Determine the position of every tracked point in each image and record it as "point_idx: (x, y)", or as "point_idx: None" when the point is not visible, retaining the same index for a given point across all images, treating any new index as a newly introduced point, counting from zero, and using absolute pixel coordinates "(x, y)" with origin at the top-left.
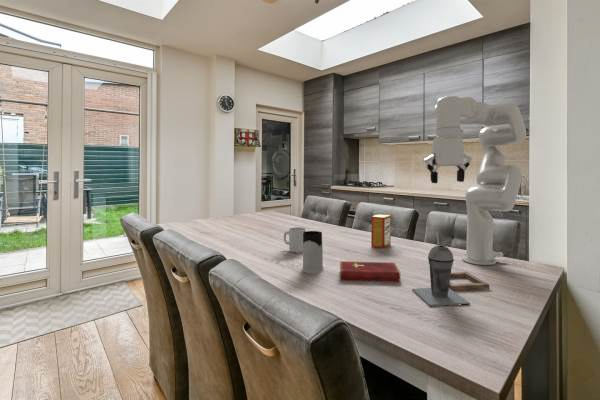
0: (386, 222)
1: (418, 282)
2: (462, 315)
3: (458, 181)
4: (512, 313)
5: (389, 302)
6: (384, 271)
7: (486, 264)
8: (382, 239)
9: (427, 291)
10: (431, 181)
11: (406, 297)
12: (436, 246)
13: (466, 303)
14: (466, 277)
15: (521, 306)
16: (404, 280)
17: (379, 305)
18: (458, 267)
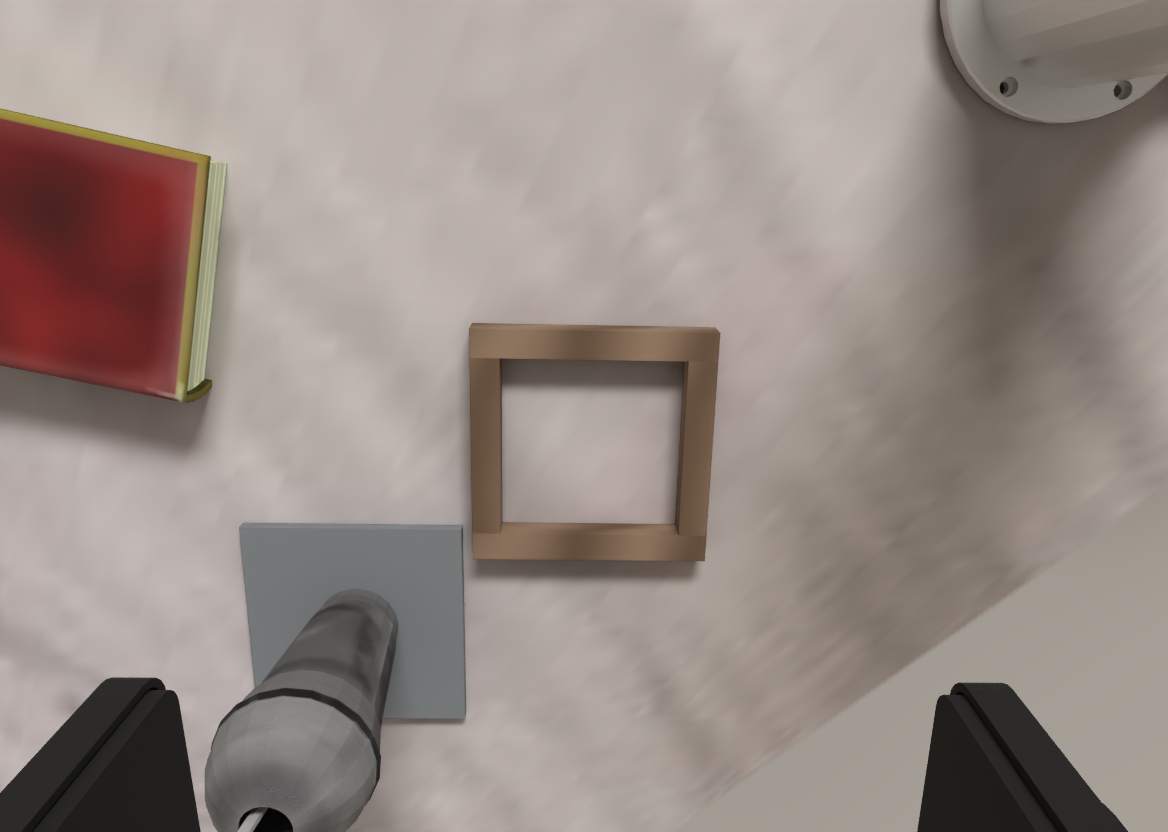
0: None
1: (331, 405)
2: None
3: (943, 728)
4: (600, 797)
5: (71, 651)
6: (70, 367)
7: (1036, 121)
8: None
9: (313, 573)
10: (100, 695)
11: (179, 605)
12: (231, 824)
13: (447, 717)
14: (684, 376)
15: (695, 745)
16: (249, 359)
17: (12, 677)
18: (783, 133)
